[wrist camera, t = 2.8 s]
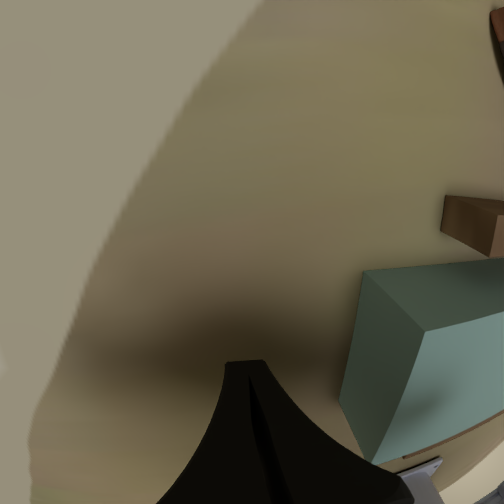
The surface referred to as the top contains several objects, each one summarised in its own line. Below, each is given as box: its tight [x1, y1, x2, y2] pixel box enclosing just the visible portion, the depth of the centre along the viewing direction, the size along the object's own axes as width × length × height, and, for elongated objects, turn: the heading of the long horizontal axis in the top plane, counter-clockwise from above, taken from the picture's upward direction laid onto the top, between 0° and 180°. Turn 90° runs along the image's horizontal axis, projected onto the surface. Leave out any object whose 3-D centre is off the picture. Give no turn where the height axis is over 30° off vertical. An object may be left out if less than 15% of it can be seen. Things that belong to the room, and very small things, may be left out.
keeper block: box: [338, 258, 504, 465], centre depth 11 cm, size 7×9×4 cm
